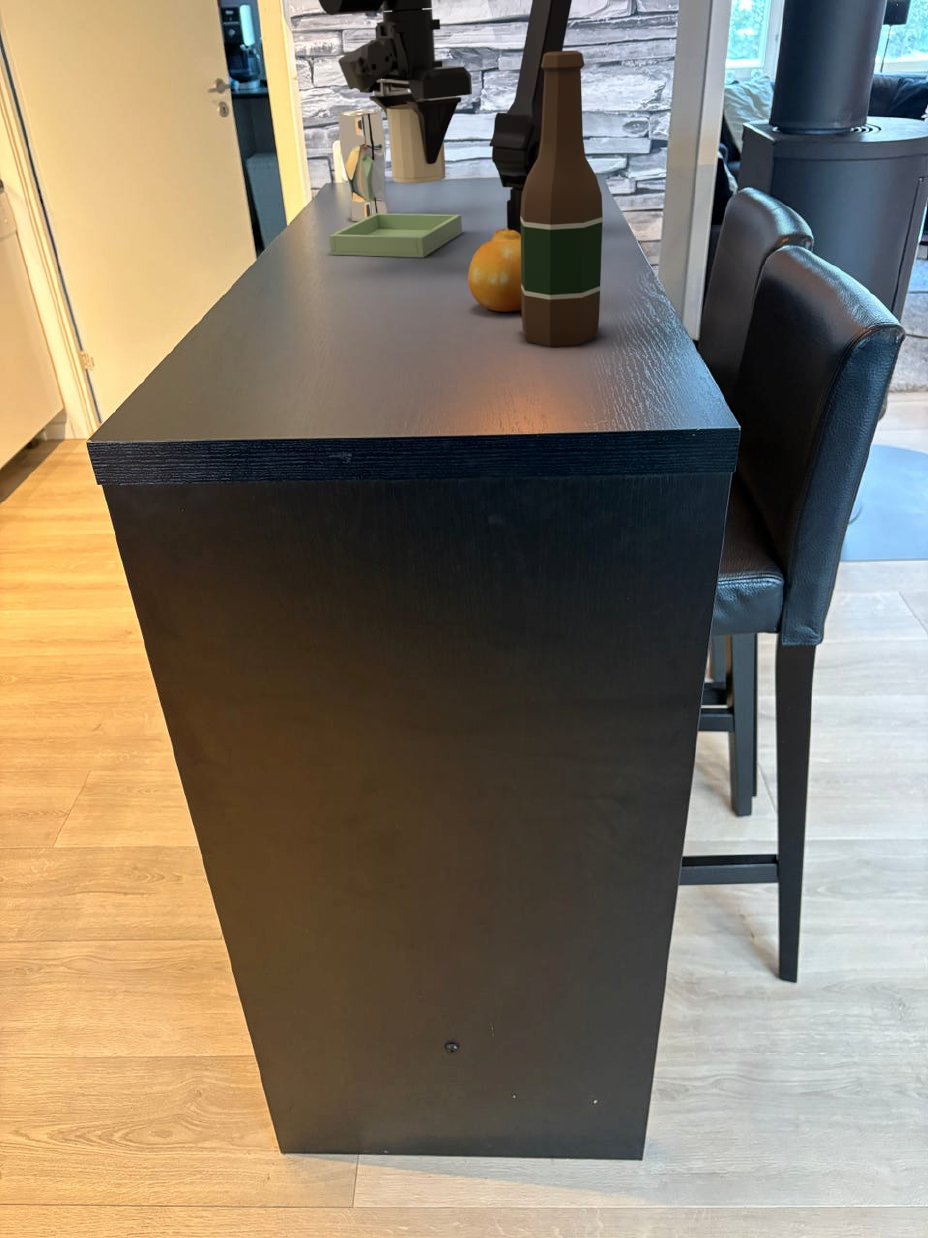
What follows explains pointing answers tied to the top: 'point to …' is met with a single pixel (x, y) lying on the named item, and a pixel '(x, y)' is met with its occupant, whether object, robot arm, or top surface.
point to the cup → (410, 148)
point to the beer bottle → (561, 218)
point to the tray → (396, 235)
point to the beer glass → (364, 160)
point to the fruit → (498, 272)
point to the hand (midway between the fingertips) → (418, 160)
